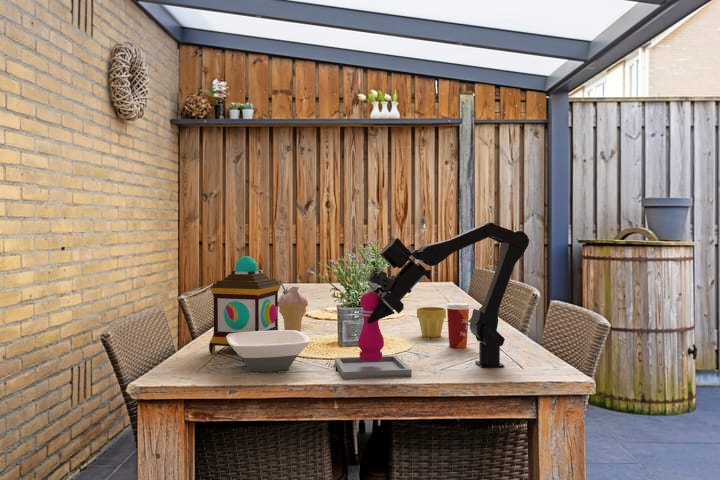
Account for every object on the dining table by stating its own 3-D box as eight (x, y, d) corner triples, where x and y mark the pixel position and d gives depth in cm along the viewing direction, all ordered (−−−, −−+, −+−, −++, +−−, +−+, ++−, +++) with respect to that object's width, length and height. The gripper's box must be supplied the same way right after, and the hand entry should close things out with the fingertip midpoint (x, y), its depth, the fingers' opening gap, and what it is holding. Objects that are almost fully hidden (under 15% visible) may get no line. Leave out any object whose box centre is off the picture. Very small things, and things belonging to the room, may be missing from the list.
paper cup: (469, 349, 202) (469, 305, 202) (445, 348, 204) (445, 305, 204) (470, 344, 210) (470, 302, 210) (446, 343, 212) (447, 302, 211)
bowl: (231, 379, 163) (230, 347, 163) (224, 361, 185) (224, 332, 185) (315, 374, 169) (315, 342, 169) (298, 356, 191) (298, 329, 191)
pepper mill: (363, 362, 170) (363, 288, 169) (353, 357, 177) (353, 285, 176) (388, 360, 173) (388, 287, 172) (377, 355, 179) (377, 284, 179)
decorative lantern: (287, 346, 207) (287, 254, 207) (262, 358, 188) (262, 257, 188) (232, 343, 213) (232, 253, 212) (202, 354, 194) (201, 256, 193)
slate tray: (411, 376, 166) (411, 369, 166) (343, 379, 163) (343, 372, 163) (396, 361, 184) (396, 355, 184) (334, 363, 181) (334, 357, 181)
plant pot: (414, 337, 223) (414, 309, 223) (418, 332, 233) (419, 306, 233) (444, 338, 221) (444, 310, 221) (447, 333, 231) (447, 307, 231)
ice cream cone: (287, 340, 218) (286, 282, 218) (271, 335, 227) (271, 279, 227) (313, 336, 225) (313, 280, 224) (298, 332, 234) (298, 278, 233)
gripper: (379, 258, 184) (341, 297, 183) (391, 262, 165) (349, 305, 164) (406, 284, 185) (369, 323, 184) (420, 291, 167) (379, 334, 165)
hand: (366, 321), depth 174 cm, fingers closed on pepper mill, 5 cm apart
